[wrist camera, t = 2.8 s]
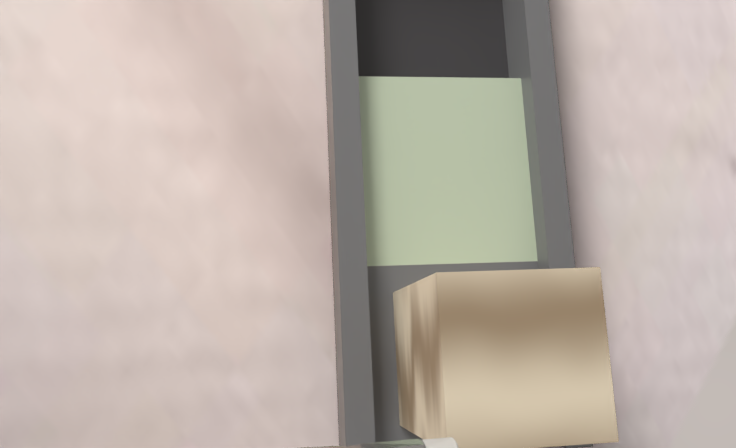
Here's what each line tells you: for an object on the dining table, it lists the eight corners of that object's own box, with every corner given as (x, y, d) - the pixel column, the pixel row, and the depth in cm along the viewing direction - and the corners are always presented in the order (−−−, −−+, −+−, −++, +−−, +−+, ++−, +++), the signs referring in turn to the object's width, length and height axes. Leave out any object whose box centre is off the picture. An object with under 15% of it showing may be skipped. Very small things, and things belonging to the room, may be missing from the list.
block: (526, 417, 37) (618, 442, 27) (399, 425, 36) (448, 454, 26) (515, 288, 38) (599, 267, 28) (392, 292, 37) (436, 272, 27)
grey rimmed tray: (564, 437, 39) (593, 446, 35) (339, 453, 37) (346, 464, 33) (516, -75, 44) (537, -110, 41) (319, -84, 43) (323, -122, 39)
